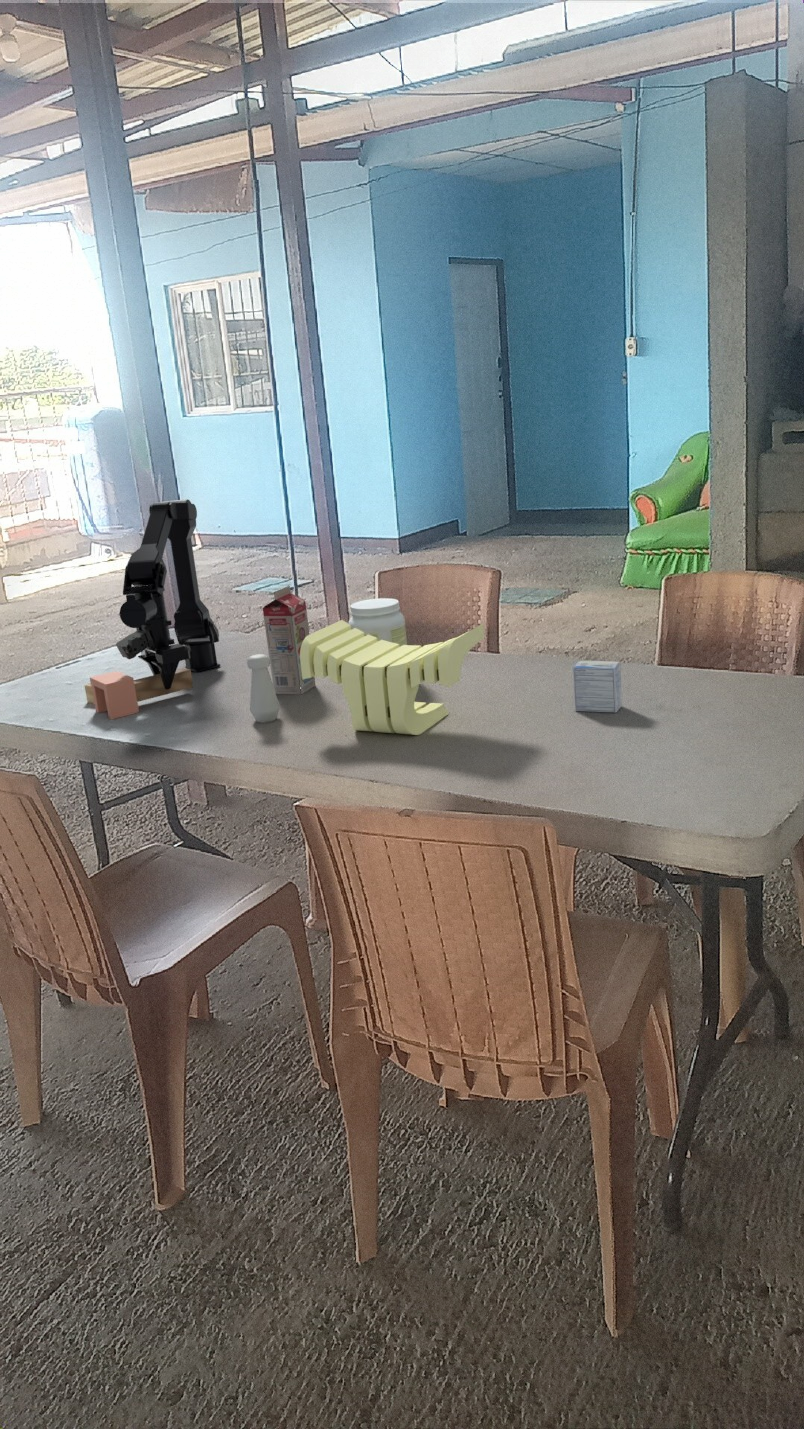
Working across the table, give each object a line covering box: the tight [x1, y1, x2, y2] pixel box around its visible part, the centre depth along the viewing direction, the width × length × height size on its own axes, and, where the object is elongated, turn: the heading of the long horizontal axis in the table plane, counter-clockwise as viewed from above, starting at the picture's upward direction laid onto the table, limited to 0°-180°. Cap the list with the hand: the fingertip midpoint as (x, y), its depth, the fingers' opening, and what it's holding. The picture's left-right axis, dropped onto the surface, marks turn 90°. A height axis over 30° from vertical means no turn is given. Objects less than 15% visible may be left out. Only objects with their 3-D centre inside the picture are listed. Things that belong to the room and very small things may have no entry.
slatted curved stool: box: [300, 619, 485, 736], centre depth 199 cm, size 30×16×18 cm, turn 63°
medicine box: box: [572, 660, 623, 714], centre depth 198 cm, size 8×4×9 cm, turn 65°
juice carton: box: [262, 585, 316, 695], centre depth 228 cm, size 7×7×22 cm
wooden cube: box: [84, 682, 94, 704], centre depth 237 cm, size 4×4×4 cm
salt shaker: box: [246, 653, 281, 724], centre depth 210 cm, size 6×6×13 cm
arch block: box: [89, 670, 140, 720], centre depth 226 cm, size 6×9×8 cm, turn 36°
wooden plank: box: [134, 667, 194, 703], centre depth 231 cm, size 18×3×4 cm, turn 127°
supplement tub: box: [347, 597, 408, 647], centre depth 230 cm, size 12×12×17 cm
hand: (164, 687), depth 233 cm, fingers closed on wooden plank, 3 cm apart
